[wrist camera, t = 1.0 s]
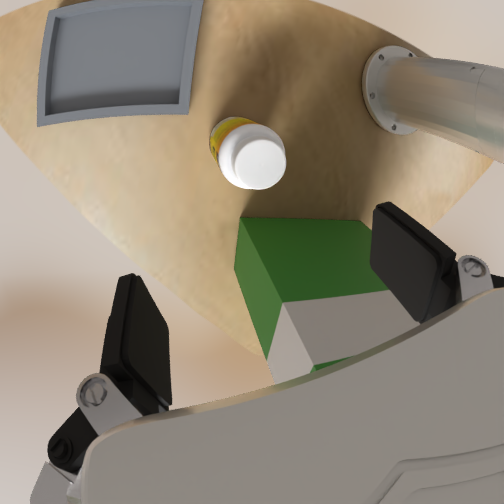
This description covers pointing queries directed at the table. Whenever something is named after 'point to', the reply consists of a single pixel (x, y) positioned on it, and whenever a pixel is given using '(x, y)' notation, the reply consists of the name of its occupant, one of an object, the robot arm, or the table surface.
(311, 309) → the hardback book
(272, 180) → the supplement bottle
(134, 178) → the table surface
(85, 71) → the tray
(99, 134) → the table surface
